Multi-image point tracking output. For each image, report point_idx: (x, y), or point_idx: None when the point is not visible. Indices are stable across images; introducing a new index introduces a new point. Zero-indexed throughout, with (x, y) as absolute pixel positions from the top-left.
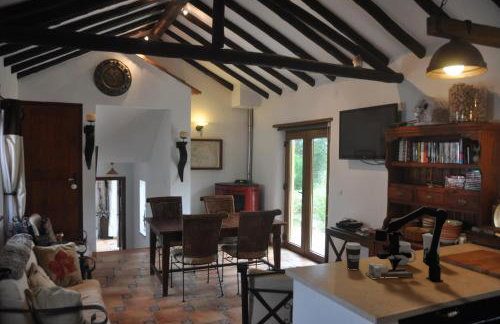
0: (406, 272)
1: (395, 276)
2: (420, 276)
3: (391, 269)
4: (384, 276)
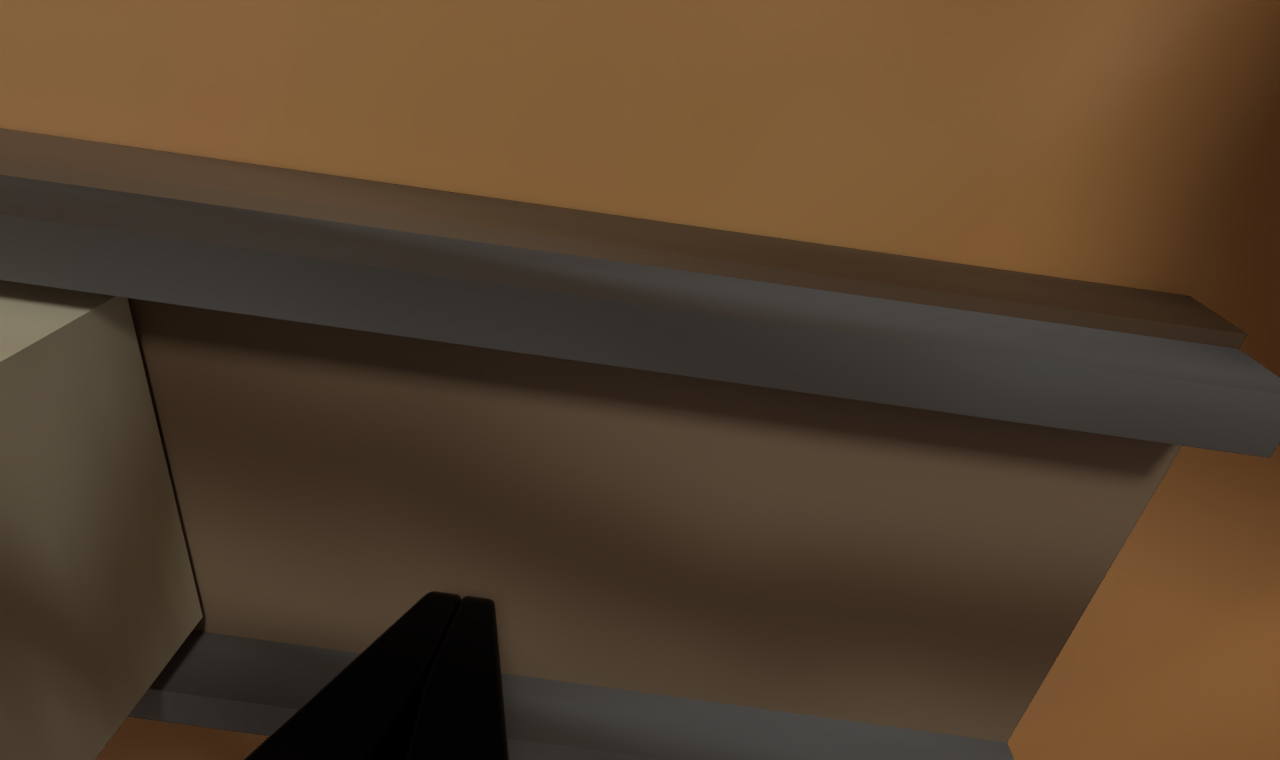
0: (1033, 559)
1: None
2: (1239, 720)
3: (513, 350)
4: None
